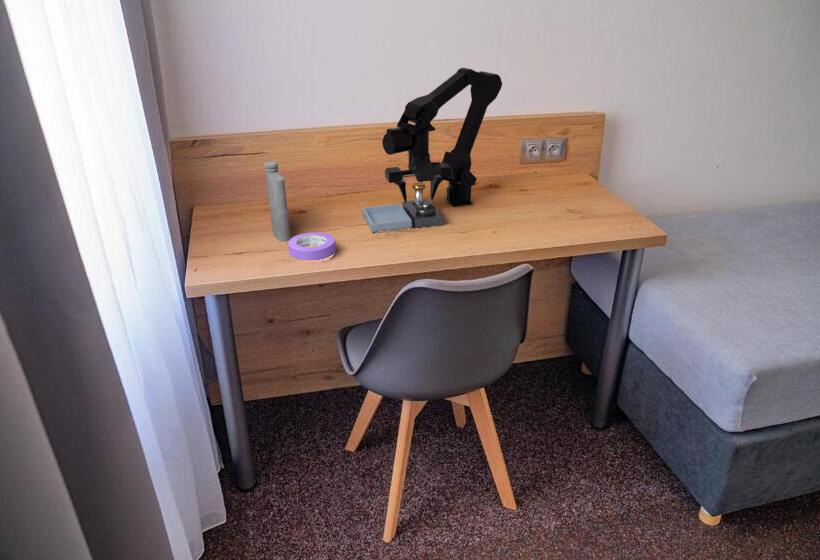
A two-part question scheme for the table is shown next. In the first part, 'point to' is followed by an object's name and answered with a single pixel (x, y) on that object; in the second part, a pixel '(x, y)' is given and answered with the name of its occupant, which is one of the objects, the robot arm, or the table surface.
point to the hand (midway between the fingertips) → (418, 200)
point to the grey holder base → (423, 214)
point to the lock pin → (418, 192)
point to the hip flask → (277, 201)
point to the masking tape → (309, 239)
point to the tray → (387, 218)
